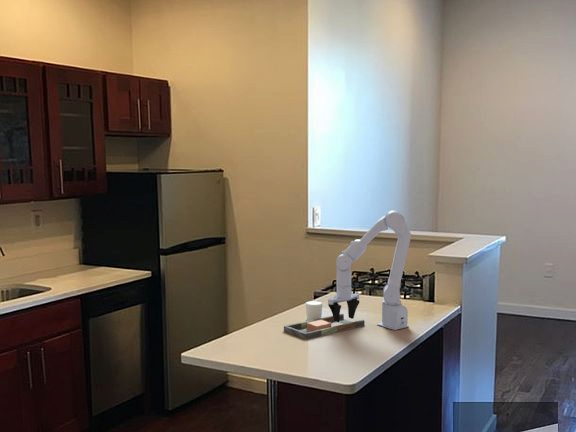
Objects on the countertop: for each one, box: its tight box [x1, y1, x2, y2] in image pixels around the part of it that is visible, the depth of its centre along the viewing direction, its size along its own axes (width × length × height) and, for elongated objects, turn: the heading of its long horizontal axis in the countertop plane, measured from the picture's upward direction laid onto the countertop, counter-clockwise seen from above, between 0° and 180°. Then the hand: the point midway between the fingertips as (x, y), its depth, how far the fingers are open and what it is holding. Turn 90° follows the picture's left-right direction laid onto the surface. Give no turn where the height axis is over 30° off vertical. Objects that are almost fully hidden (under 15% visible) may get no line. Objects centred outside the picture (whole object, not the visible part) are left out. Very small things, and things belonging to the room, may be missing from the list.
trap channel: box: [283, 313, 366, 340], centre depth 230 cm, size 13×29×2 cm, turn 127°
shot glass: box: [305, 300, 323, 321], centre depth 242 cm, size 7×7×7 cm
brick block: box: [306, 320, 332, 332], centre depth 228 cm, size 6×7×3 cm
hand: (343, 319), depth 236 cm, fingers open, 7 cm apart
